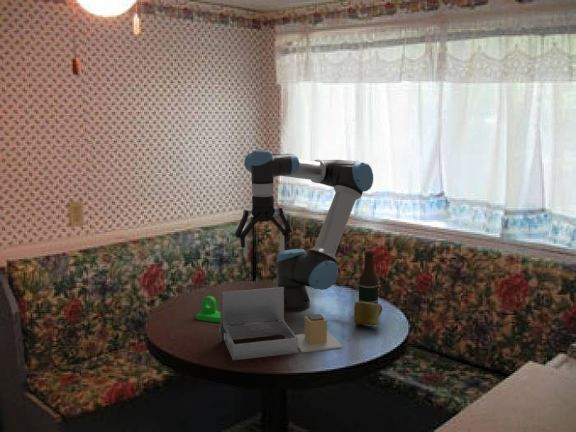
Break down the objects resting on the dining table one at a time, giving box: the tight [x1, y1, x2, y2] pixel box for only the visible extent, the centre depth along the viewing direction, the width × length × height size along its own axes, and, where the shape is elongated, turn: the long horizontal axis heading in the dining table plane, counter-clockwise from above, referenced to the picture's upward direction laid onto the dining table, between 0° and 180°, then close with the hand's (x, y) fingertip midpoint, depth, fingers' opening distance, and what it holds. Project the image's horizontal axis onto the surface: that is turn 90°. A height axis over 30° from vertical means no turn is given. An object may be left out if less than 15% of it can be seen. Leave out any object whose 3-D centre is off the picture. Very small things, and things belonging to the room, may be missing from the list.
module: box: [304, 313, 328, 345], centre depth 196 cm, size 6×6×9 cm
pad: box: [295, 330, 343, 354], centre depth 196 cm, size 14×14×1 cm
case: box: [218, 286, 299, 361], centre depth 192 cm, size 23×18×17 cm
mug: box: [353, 301, 383, 327], centre depth 211 cm, size 12×10×10 cm
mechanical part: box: [196, 295, 221, 323], centre depth 219 cm, size 12×6×8 cm, turn 67°
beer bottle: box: [358, 250, 379, 304], centre depth 226 cm, size 8×8×24 cm
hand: (264, 254), depth 204 cm, fingers open, 13 cm apart
